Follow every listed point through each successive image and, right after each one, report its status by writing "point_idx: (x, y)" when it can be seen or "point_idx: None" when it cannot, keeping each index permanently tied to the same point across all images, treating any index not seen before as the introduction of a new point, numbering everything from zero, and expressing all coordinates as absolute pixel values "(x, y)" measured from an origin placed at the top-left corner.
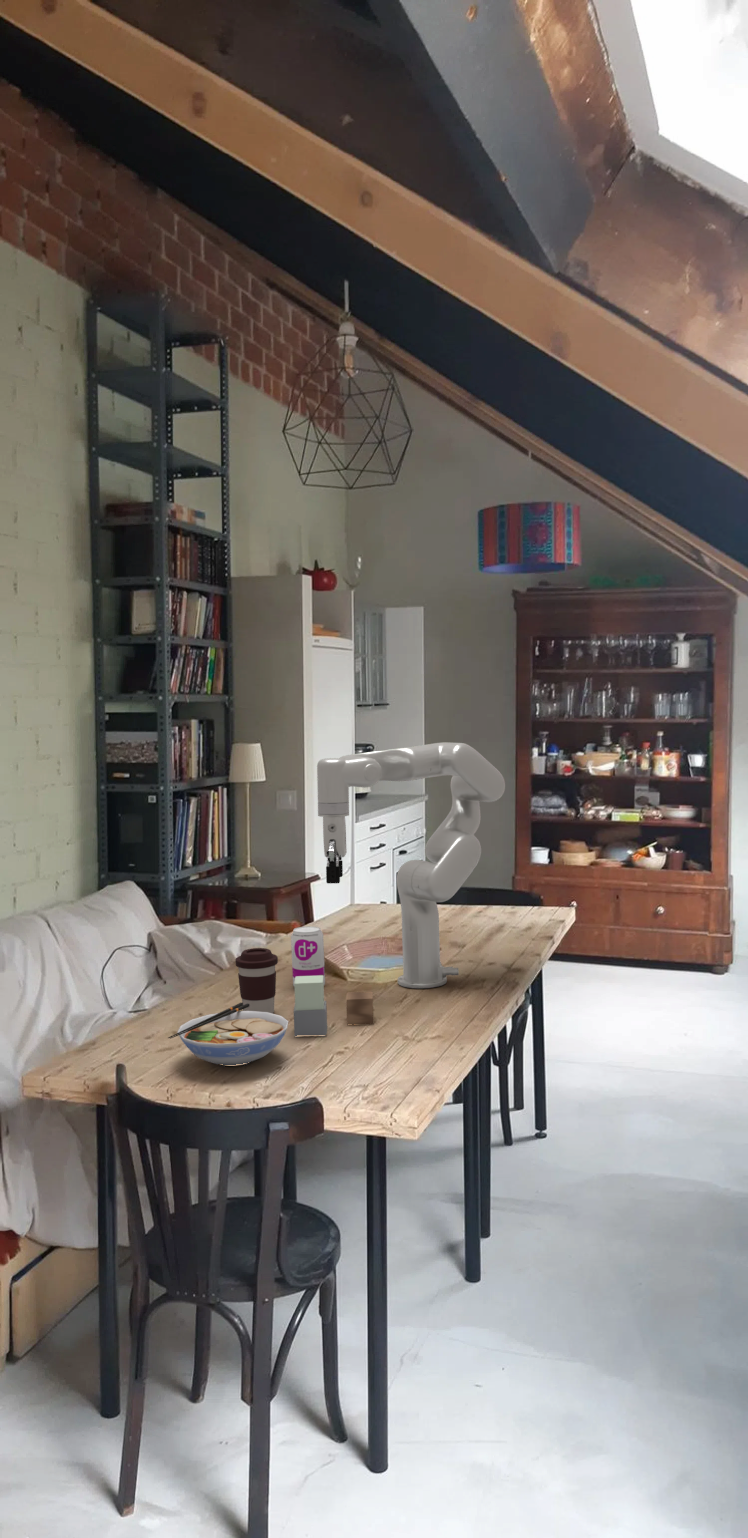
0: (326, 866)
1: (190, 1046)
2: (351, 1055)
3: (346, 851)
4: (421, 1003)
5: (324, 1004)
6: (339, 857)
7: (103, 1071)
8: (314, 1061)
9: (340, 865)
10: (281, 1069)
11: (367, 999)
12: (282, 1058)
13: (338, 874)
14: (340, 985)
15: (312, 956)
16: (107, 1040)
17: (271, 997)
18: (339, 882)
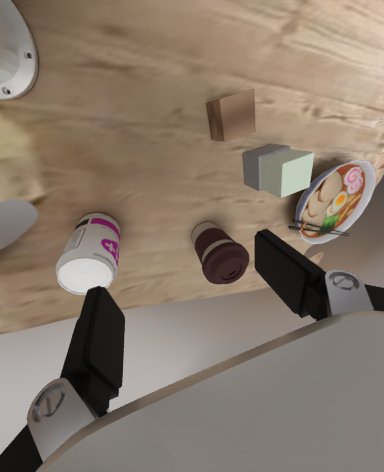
0: (302, 317)
1: (345, 220)
2: (326, 96)
3: (99, 444)
4: (128, 18)
5: (271, 154)
6: (86, 401)
7: (309, 259)
8: (330, 132)
9: (96, 337)
10: (338, 155)
11: (253, 98)
12: (316, 164)
13: (288, 250)
14: (75, 195)
15: (111, 239)
16: (261, 286)
17: (217, 228)
18: (265, 229)
